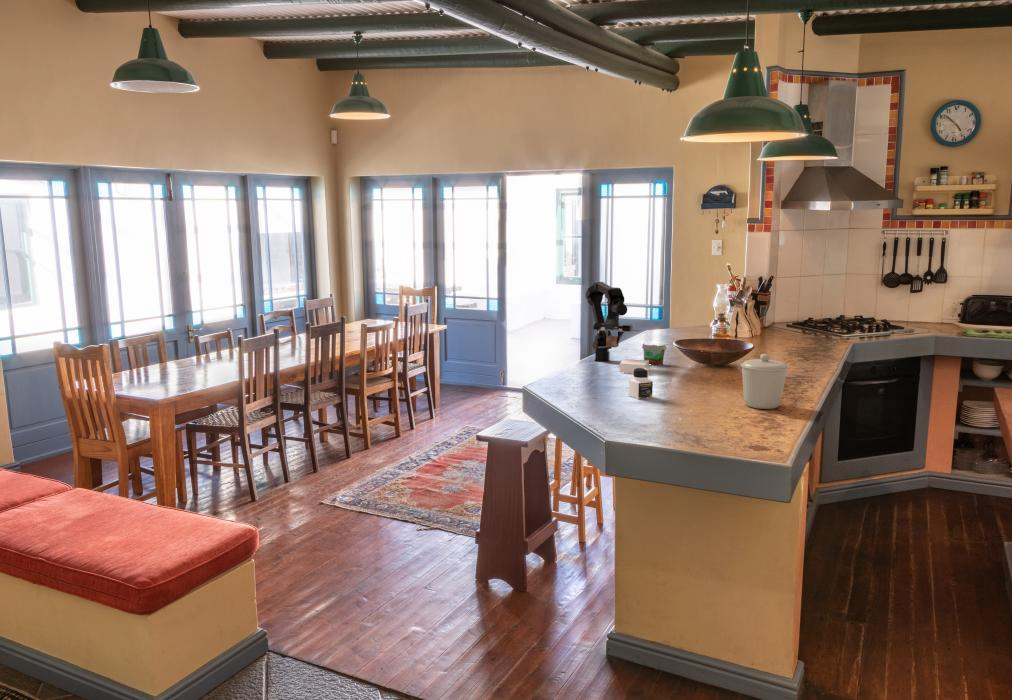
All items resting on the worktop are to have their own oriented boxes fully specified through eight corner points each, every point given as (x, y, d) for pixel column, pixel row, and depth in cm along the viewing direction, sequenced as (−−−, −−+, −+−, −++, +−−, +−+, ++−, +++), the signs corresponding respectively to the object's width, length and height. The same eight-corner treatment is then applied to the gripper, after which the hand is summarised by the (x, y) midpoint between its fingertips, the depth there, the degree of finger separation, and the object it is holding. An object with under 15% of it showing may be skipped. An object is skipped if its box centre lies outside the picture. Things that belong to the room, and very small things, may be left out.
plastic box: (619, 373, 379) (619, 363, 378) (624, 369, 390) (624, 358, 389) (644, 375, 375) (645, 364, 374) (648, 370, 386) (648, 360, 385)
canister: (779, 414, 302) (783, 359, 298) (732, 408, 311) (735, 355, 308) (790, 404, 317) (794, 352, 313) (745, 399, 326) (748, 348, 323)
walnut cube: (606, 346, 395) (606, 336, 394) (608, 345, 399) (609, 335, 398) (616, 347, 393) (616, 337, 392) (618, 345, 397) (618, 336, 396)
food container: (638, 364, 400) (638, 344, 398) (642, 362, 405) (642, 342, 404) (662, 366, 394) (662, 346, 393) (665, 364, 400) (666, 344, 398)
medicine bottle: (638, 399, 325) (639, 370, 323) (628, 396, 331) (628, 367, 329) (652, 397, 328) (653, 369, 326) (641, 394, 334) (642, 366, 332)
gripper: (590, 314, 389) (589, 345, 392) (627, 315, 382) (626, 348, 385) (596, 311, 399) (596, 342, 402) (633, 313, 392) (632, 344, 395)
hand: (612, 344), depth 396 cm, fingers closed on walnut cube, 5 cm apart
